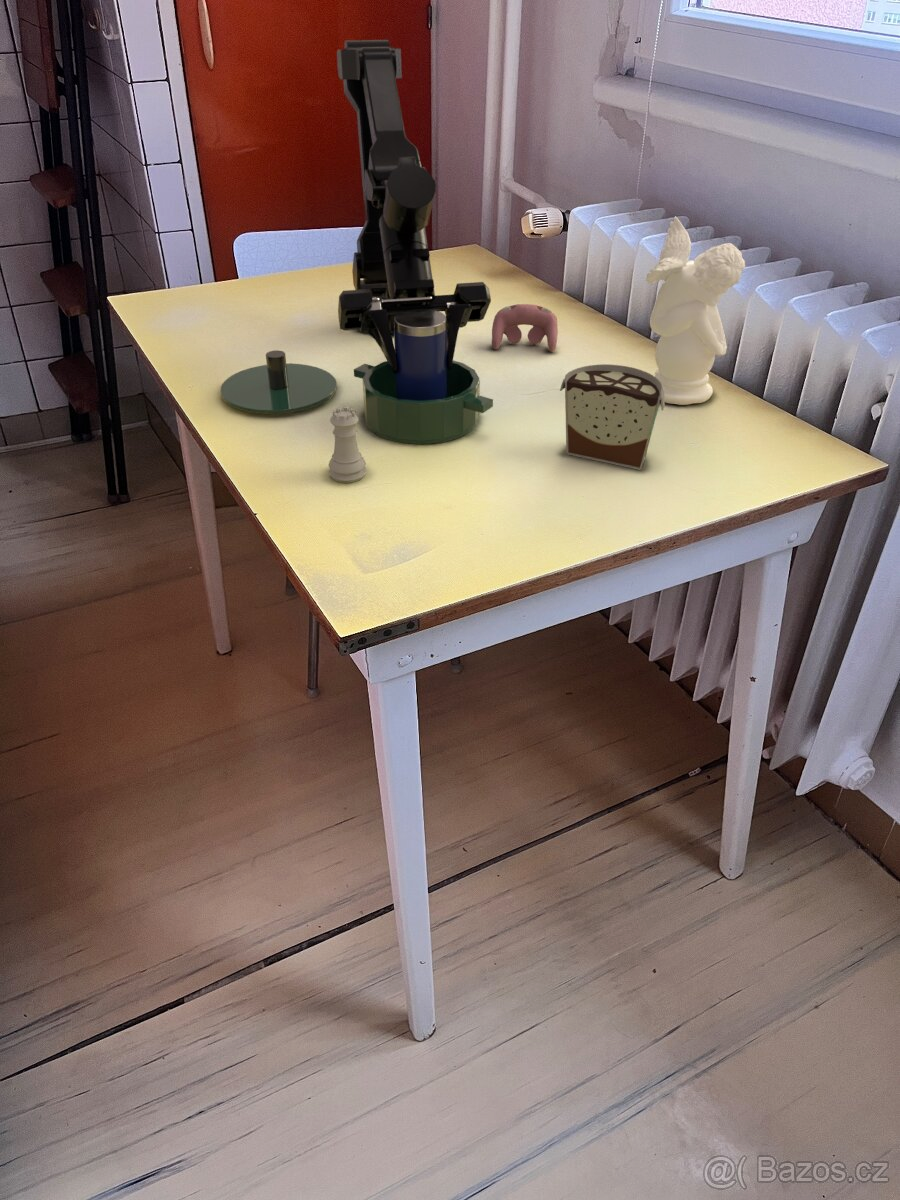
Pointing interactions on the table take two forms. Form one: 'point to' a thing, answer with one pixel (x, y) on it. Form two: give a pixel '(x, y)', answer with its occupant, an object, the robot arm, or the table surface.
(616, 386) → the food container
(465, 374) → the pot
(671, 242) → the cherub figurine
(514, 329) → the video game controller
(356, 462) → the rook chess piece
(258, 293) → the table surface
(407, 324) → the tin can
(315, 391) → the pot lid
